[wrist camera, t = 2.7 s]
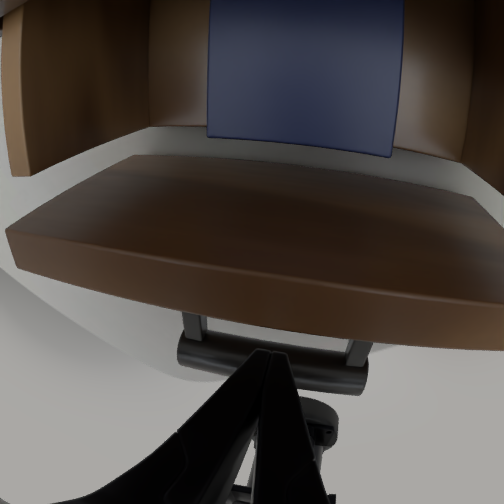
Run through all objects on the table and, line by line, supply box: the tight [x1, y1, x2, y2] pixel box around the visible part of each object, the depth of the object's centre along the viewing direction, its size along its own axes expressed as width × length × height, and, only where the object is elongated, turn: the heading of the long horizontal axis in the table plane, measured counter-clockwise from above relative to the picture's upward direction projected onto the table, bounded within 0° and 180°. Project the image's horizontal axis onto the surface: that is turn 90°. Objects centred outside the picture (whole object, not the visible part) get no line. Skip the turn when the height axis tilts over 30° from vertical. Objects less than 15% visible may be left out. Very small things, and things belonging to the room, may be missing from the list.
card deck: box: [207, 0, 405, 158], centre depth 7 cm, size 6×4×2 cm
